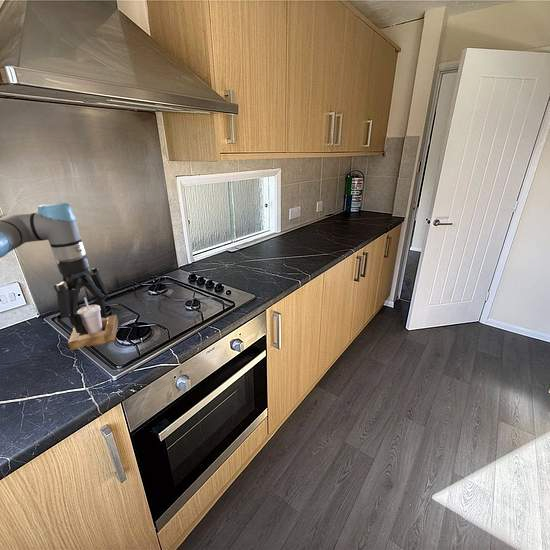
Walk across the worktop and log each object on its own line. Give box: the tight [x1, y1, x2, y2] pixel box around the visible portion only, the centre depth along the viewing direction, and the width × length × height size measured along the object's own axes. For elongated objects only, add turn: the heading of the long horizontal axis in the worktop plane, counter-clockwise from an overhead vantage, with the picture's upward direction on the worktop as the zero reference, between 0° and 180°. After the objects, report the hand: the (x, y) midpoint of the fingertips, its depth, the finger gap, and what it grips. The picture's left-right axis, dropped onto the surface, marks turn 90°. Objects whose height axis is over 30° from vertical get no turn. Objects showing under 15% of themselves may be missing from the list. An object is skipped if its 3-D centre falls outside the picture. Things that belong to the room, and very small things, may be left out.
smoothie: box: [77, 296, 104, 334], centre depth 92 cm, size 6×6×14 cm
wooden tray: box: [67, 314, 119, 351], centre depth 95 cm, size 12×12×3 cm
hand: (92, 324), depth 94 cm, fingers open, 8 cm apart
